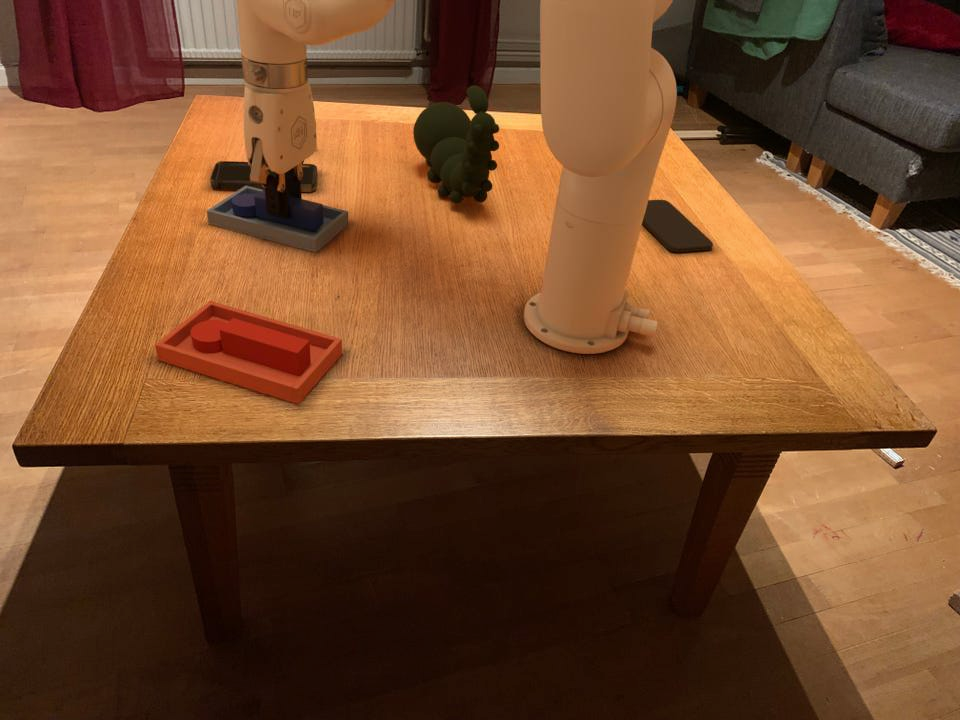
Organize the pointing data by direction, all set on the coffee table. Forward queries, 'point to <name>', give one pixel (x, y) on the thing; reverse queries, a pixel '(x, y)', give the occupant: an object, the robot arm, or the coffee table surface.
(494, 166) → the toy figurine
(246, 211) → the blue spoon
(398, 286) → the coffee table surface
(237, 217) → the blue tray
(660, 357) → the coffee table surface
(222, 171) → the phone
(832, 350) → the coffee table surface
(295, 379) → the red tray
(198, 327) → the red spoon
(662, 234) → the phone
